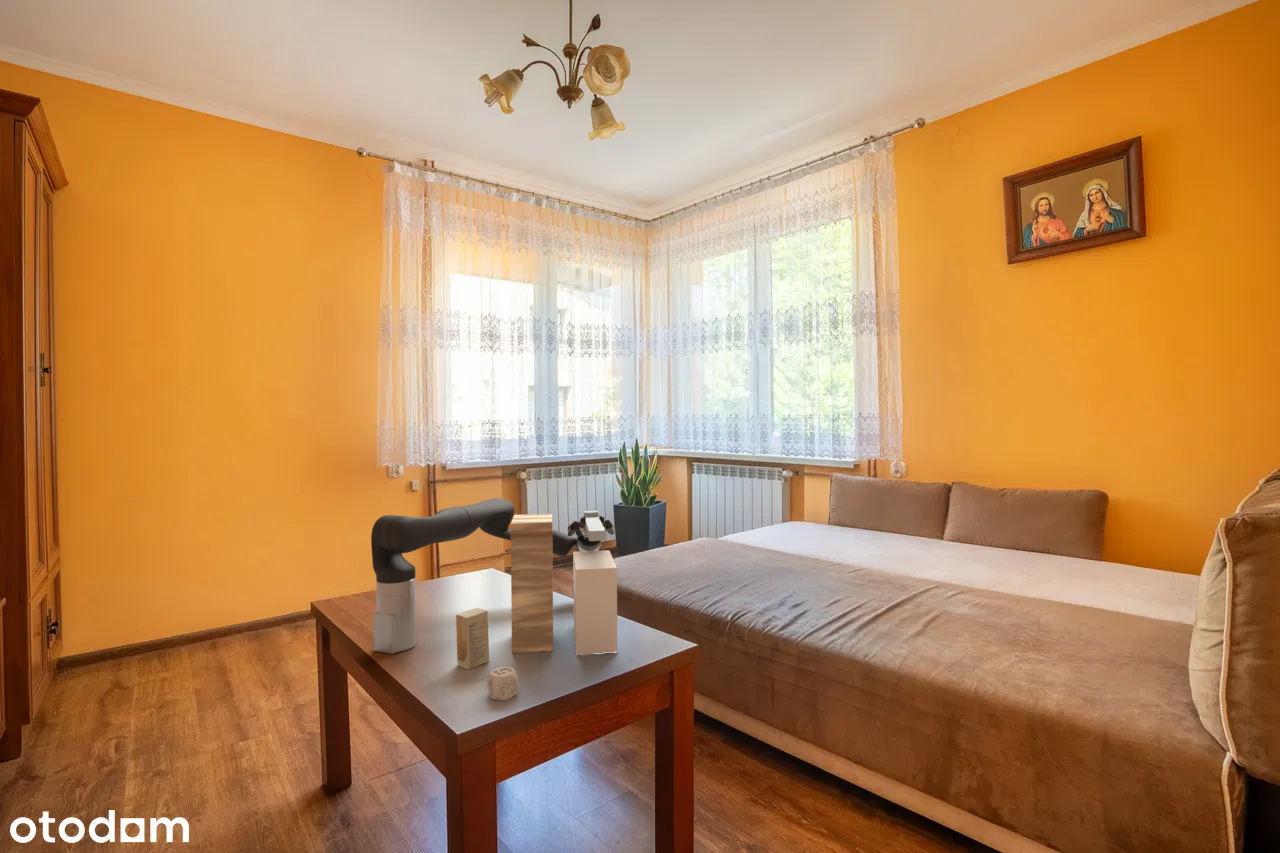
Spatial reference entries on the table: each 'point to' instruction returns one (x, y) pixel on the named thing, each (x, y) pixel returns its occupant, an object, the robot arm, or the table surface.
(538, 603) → the tall brown wood-grain block
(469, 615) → the skincare box
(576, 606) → the block
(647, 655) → the table surface
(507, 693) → the die
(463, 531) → the robot arm
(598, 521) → the pale blue-grey block
